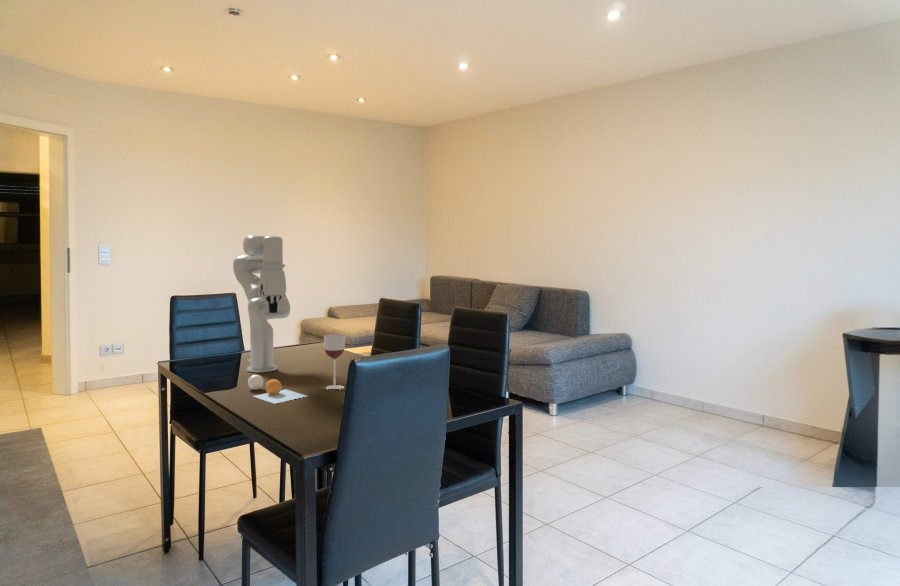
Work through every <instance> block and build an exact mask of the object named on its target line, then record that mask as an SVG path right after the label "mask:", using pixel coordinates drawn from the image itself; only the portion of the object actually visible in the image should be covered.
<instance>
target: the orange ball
mask: <svg viewBox="0 0 900 586" xmlns="http://www.w3.org/2000/svg"><path fill="white" fill-rule="evenodd" d="M280 390H282V383H281V381H279V380H278V379H276V378H272V379H269V380H268V381H267V382H266V384H265V391H266V393H269V394H271V395H275V394H278V393H279V392H280Z"/></svg>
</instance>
